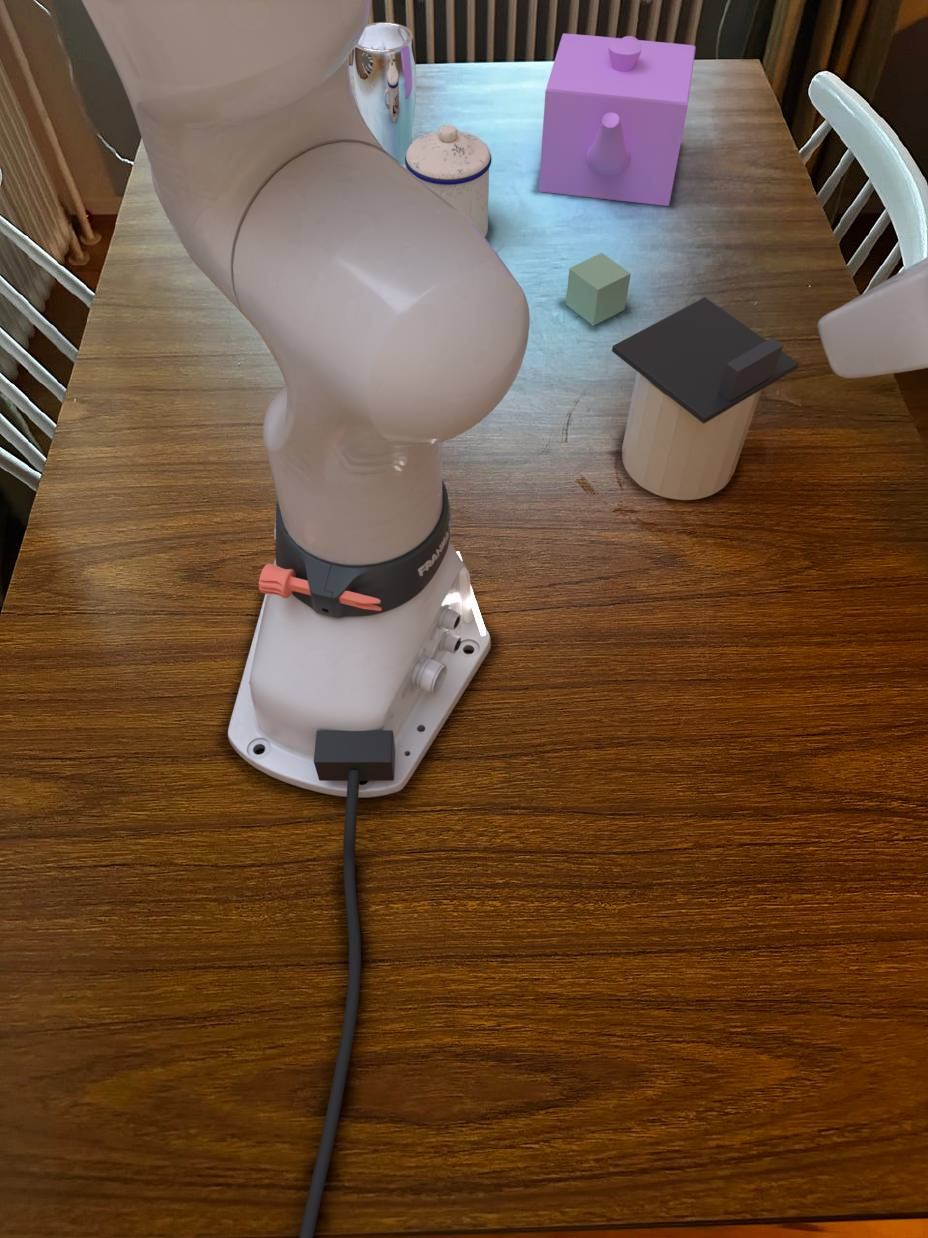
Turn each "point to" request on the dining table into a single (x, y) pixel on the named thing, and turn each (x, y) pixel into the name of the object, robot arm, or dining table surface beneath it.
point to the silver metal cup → (386, 84)
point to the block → (597, 289)
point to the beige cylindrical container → (682, 444)
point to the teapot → (615, 118)
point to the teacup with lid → (454, 170)
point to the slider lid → (705, 359)
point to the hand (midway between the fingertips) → (864, 306)
